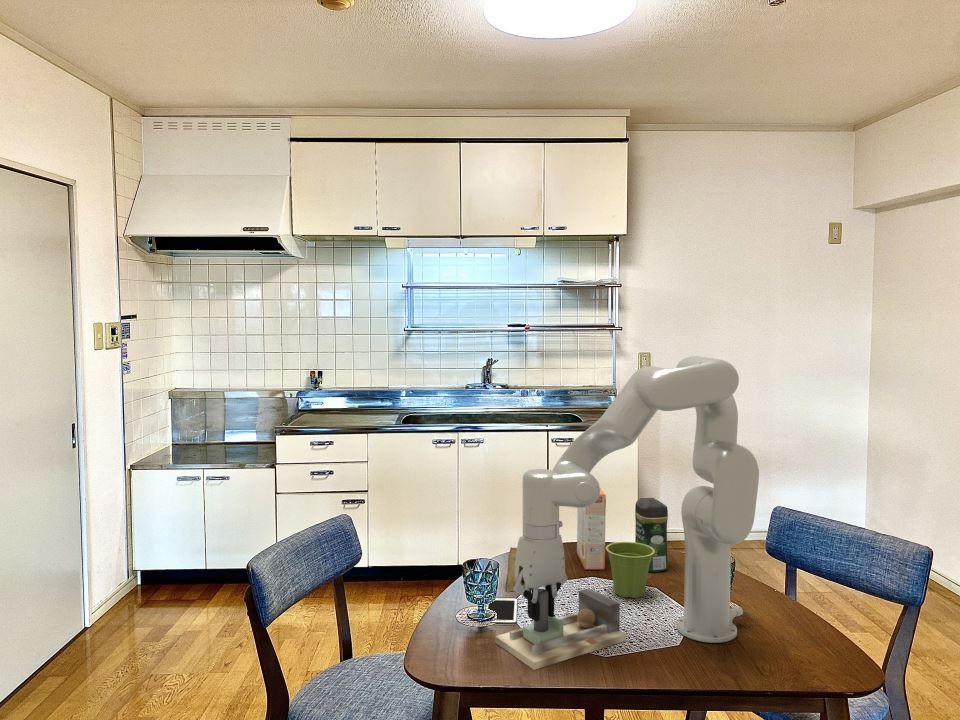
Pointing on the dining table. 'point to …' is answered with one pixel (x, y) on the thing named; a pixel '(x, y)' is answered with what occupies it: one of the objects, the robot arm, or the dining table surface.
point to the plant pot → (629, 567)
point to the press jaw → (543, 623)
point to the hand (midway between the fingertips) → (541, 616)
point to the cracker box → (592, 534)
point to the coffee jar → (652, 530)
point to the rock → (511, 570)
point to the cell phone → (504, 610)
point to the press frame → (571, 633)
